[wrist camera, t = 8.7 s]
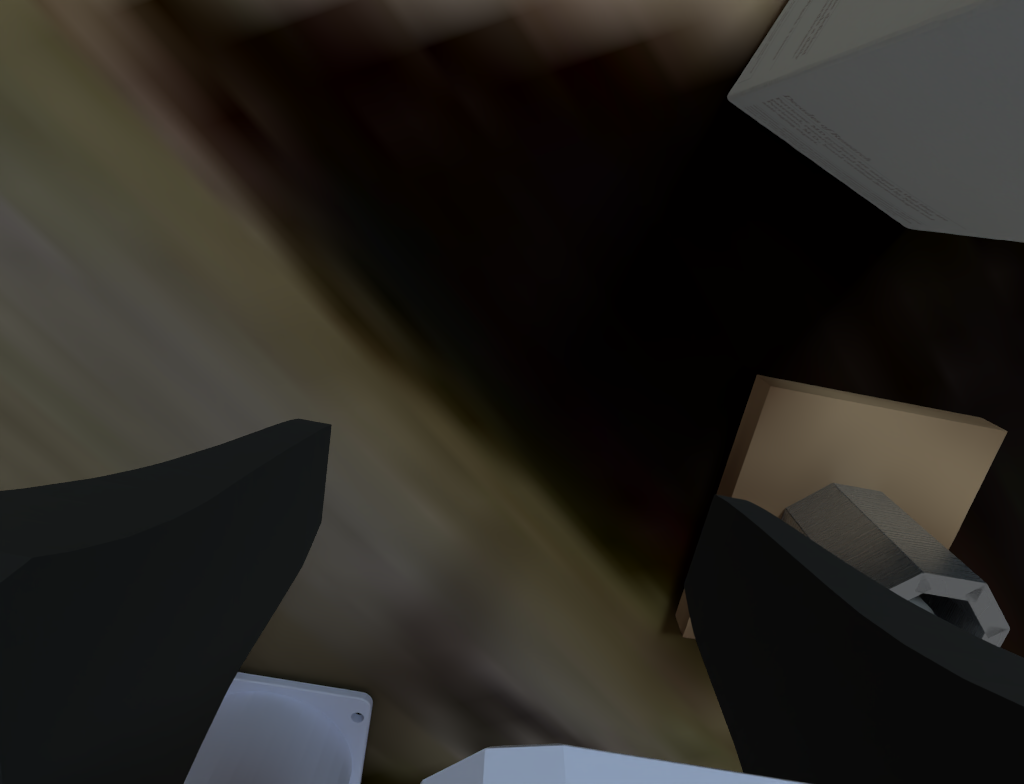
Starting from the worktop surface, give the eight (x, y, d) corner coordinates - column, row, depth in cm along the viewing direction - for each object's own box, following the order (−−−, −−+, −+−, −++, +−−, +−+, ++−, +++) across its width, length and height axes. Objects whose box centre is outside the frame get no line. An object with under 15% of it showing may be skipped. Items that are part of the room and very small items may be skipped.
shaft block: (871, 648, 25) (965, 775, 19) (675, 615, 24) (717, 736, 19) (981, 417, 21) (1129, 496, 16) (756, 374, 21) (834, 440, 16)
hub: (870, 599, 22) (963, 712, 18) (757, 580, 22) (821, 689, 17) (916, 497, 21) (1031, 591, 16) (797, 476, 21) (877, 564, 16)
